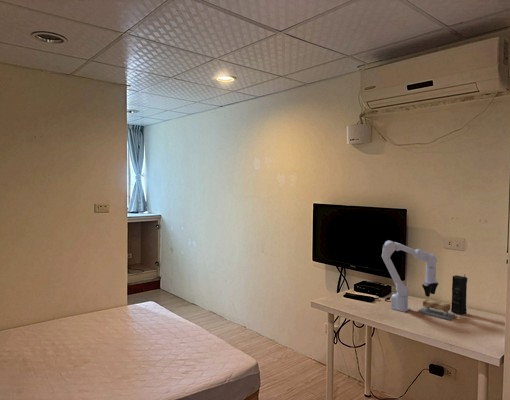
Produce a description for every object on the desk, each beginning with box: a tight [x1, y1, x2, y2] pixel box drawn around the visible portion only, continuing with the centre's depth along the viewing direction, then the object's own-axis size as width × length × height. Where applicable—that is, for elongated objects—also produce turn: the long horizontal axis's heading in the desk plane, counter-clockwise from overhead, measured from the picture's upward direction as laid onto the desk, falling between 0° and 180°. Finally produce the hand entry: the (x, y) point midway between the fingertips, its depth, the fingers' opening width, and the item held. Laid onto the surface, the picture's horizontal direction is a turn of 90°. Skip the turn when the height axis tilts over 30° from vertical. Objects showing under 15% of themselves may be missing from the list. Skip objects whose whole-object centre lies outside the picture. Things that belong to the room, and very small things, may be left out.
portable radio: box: [450, 274, 468, 316], centre depth 229 cm, size 8×6×25 cm
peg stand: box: [417, 306, 456, 321], centre depth 226 cm, size 18×10×4 cm, turn 44°
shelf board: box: [422, 299, 451, 312], centre depth 226 cm, size 14×6×3 cm, turn 43°
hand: (430, 295), depth 231 cm, fingers open, 7 cm apart
